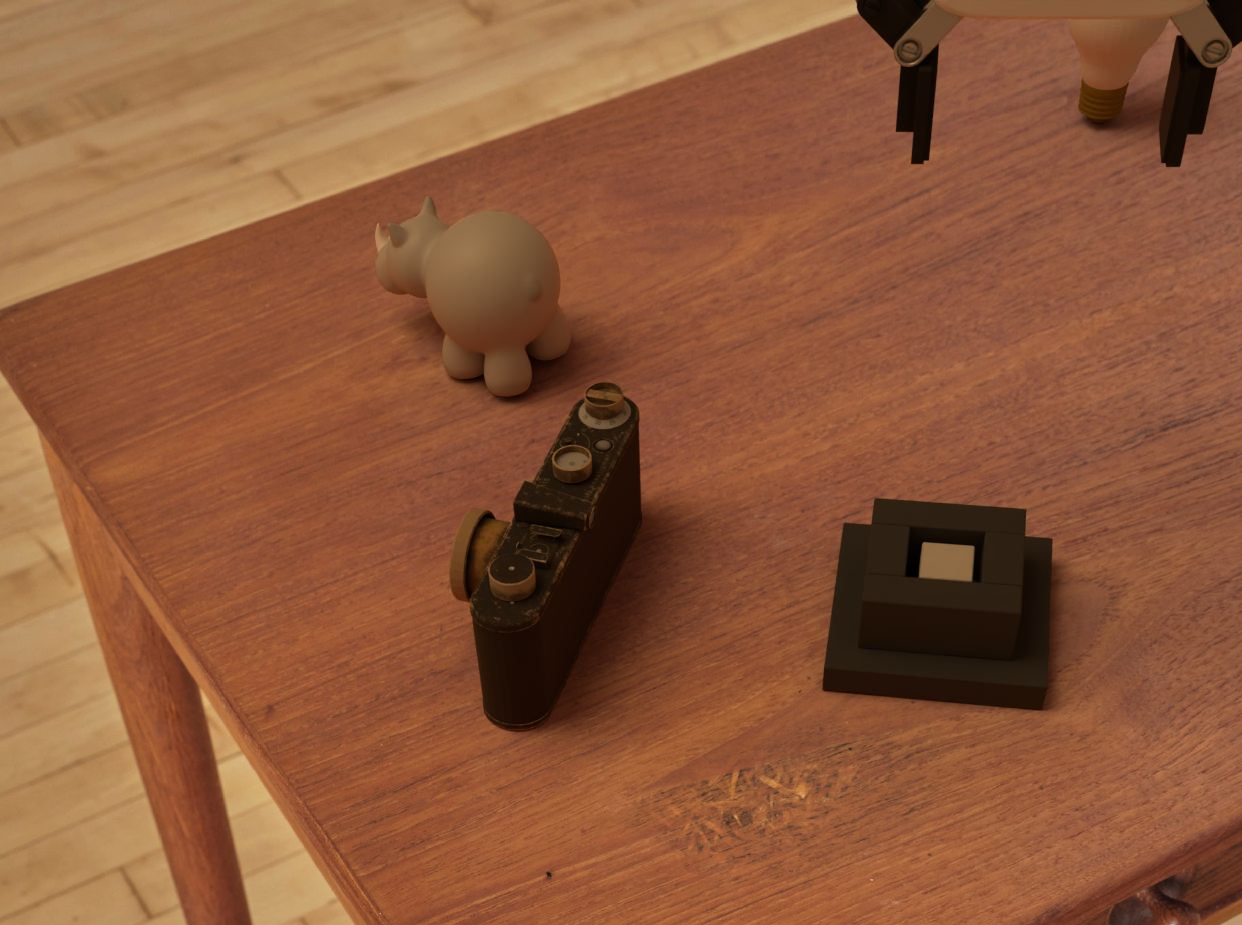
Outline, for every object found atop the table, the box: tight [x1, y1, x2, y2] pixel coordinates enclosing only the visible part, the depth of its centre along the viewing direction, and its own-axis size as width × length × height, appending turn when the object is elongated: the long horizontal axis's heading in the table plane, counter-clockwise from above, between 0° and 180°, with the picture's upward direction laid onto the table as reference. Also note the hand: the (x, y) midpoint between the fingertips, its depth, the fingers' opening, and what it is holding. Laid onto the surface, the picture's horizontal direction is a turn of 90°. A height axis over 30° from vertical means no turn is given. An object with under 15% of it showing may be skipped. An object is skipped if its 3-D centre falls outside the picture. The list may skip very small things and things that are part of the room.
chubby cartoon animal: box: [373, 194, 571, 397], centre depth 98 cm, size 7×12×8 cm, turn 50°
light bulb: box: [1066, 17, 1170, 124], centre depth 107 cm, size 6×6×10 cm
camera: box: [448, 381, 643, 731], centre depth 85 cm, size 16×7×8 cm, turn 160°
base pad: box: [821, 522, 1054, 711], centre depth 85 cm, size 10×10×4 cm
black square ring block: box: [857, 497, 1027, 661], centre depth 84 cm, size 7×7×3 cm
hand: (1043, 147), depth 72 cm, fingers open, 9 cm apart
